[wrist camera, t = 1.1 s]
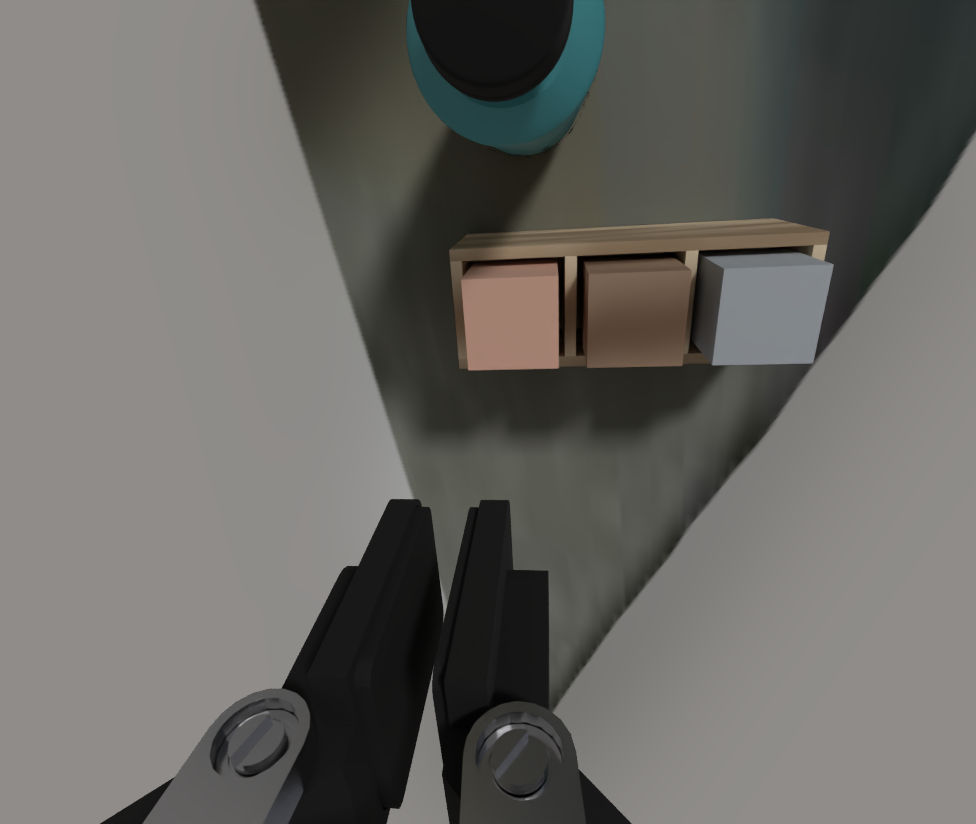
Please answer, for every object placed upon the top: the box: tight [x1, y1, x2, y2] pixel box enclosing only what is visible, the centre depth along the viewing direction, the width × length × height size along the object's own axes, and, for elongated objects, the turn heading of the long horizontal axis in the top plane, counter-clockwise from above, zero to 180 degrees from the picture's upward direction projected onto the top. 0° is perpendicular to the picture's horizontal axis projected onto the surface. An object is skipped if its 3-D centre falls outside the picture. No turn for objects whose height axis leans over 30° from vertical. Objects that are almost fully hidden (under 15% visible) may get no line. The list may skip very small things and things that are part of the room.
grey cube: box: [690, 248, 834, 365], centre depth 27 cm, size 5×5×5 cm
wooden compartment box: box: [449, 218, 830, 369], centre depth 31 cm, size 7×19×7 cm, turn 93°
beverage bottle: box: [406, 0, 605, 159], centre depth 21 cm, size 6×7×20 cm
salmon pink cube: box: [461, 259, 559, 370], centre depth 28 cm, size 5×5×5 cm
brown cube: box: [581, 254, 692, 368], centre depth 27 cm, size 5×5×5 cm
